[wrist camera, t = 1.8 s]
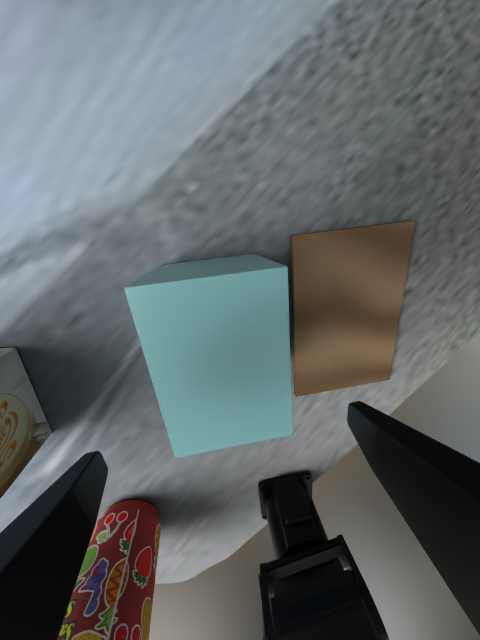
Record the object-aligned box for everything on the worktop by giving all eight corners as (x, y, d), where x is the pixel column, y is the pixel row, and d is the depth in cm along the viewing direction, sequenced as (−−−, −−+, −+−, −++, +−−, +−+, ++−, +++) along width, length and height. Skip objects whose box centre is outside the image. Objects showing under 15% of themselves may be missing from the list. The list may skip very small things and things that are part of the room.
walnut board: (386, 376, 23) (389, 379, 23) (294, 393, 23) (296, 396, 22) (410, 221, 18) (415, 220, 18) (290, 235, 17) (292, 235, 17)
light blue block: (262, 364, 21) (292, 434, 13) (187, 377, 20) (175, 458, 13) (253, 253, 17) (287, 266, 10) (161, 265, 17) (123, 288, 9)
